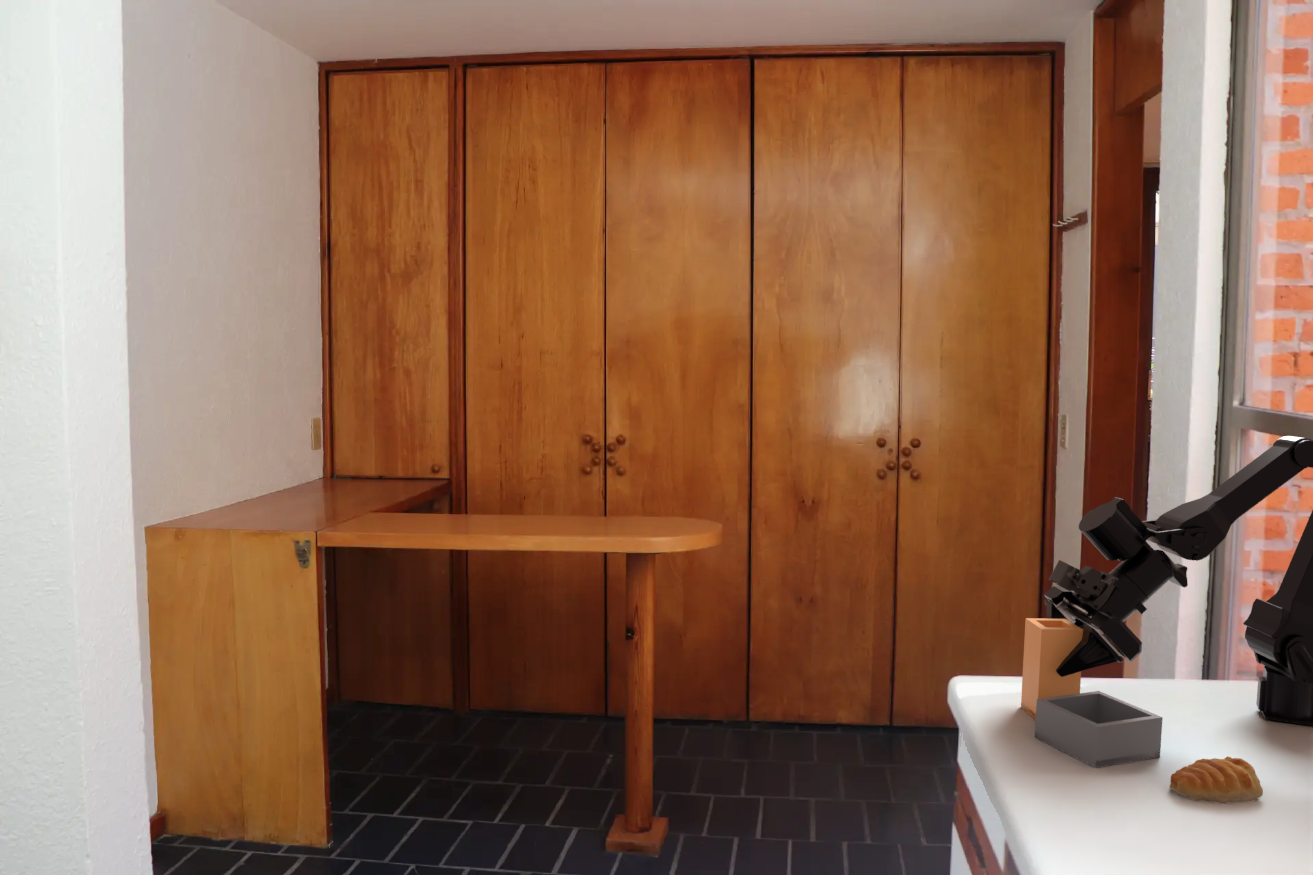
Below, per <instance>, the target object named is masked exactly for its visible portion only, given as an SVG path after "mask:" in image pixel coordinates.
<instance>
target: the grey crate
mask: <svg viewBox="0 0 1313 875" xmlns="http://www.w3.org/2000/svg"><path fill="white" fill-rule="evenodd" d="M1034 726H1035V727H1034V738H1035V739H1037V740H1039V741H1042V742H1043V743H1044V744H1047V745H1049V746H1051V747H1053V748H1055V749H1056V750H1059V751H1061V752H1063V753H1065V754H1067V755H1069V756H1070V757H1073V758H1074V759H1077V760H1079V761H1081V762H1082V763H1084V764H1087V765H1089V766H1091V767H1092V768H1094V769H1097V768H1102V767H1103V768H1104V767H1109V766H1115V765H1120V764H1127V763H1133V762H1134V763H1135V762H1139V761H1144V760H1145V761H1146V760H1149V759H1150V760H1151V759H1156V758H1157V759H1158V758H1160V757H1161V745H1162V731H1163V716H1161V715H1158V714H1156V713H1154V712H1150V711H1148V710H1146V709H1144V708H1142V707H1139V706H1136V705H1133V704H1132V703H1129V702H1126V701H1124V700H1121V699H1119V698H1117V697H1114V696H1113V695H1110V694H1108V693H1106V692H1103V691H1100V690H1095V691H1088V692H1080V693H1079V694H1072V695H1064V696H1057V697H1049V698H1042V699H1037V704H1036V720H1035V725H1034Z"/></svg>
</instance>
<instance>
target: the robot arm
mask: <svg viewBox="0 0 1313 875" xmlns="http://www.w3.org/2000/svg"><path fill="white" fill-rule="evenodd" d="M1307 468H1310V469H1313V440H1312V439H1311V438H1307V437H1300V436H1293V435H1285V436H1282V437H1280V438H1278V439H1277V440H1276V441H1274V443H1273V444H1272V445H1271V447H1269V448H1268V449H1266V450H1265V451H1264V452H1262V453H1261V454H1260V455H1259V456H1257V457H1256V458H1254V459H1253V460H1252V461H1251V462H1249V463H1248V464H1246V465H1245V466H1244V467H1242V468H1241V469H1240V470H1238V471H1237V472H1236V473H1234V474H1233V475H1231V477H1229V478H1228V479H1227V480H1225V481H1223V483H1221V484H1220V485H1218V486H1217V487H1216V488H1215V489H1213V490H1211V491H1210V492H1209V493H1208V494H1206V495H1204V496H1202V497H1200V498H1197V499H1193V500H1191V501H1188V502H1185V503H1182V504H1180V505H1177V506H1176V507H1173V508H1171V509H1170V510H1168V511H1166V512H1164V513H1163V514H1161V515H1160V516H1158V518H1157V519H1150V520H1142V521H1141V519H1140V518H1139V517H1138V516H1137V515H1136V514H1135V513H1134V511H1133V509H1132V508H1131V506H1130V505H1129V503H1128V502H1127V501H1126V500H1125V499H1123V498H1120V497H1116V496H1115V497H1114V498H1112V500H1110V502H1105V503H1102V504H1101V505H1099V506H1096V507H1095V508H1094V509H1090V510H1089V511H1088V512H1087V513H1086V514H1084V515H1083V517H1082V518H1081V519H1080V521H1079V524H1078V530H1079V531H1080V532H1081V533H1082V534H1083V535H1084V536H1085V537H1086V539H1088V541H1089V542H1090V543H1091V544H1092V545H1093V546H1094V548H1096V550H1098V551H1099V552H1100V554H1101V555H1102V556H1103V557H1104V558H1105V559H1106V560H1107V561H1119V563H1118V564H1117V565H1116V566H1115V567H1114V568H1113V569H1111V571H1109V572H1106V571H1104V570H1102V571H1101V570H1097V569H1095V568H1092V567H1091V566H1089V565H1085V566H1084V567H1082V568H1081V569H1079V568H1078V567H1075V566H1073V565H1071V564H1069V563H1067V562H1066V561H1063V560H1061V559H1058V561H1057V564H1056V565H1055V566H1054V568H1053V571H1052V573H1051V574H1050V576H1049V578H1048V580H1049V581H1050V582H1053V583H1054V584H1056V585H1053V586H1051V587H1050V589H1048V591H1047V590H1046V592H1045V593H1044V597H1045V598H1046V599H1045V600H1044V605H1045V606H1046V607H1045V609H1046V617H1045V619H1067V620H1069V621H1070V622H1072V623H1073V624H1075V625H1077V626H1078V627H1080V628H1081V629H1083V636H1082V640H1081V641H1080V642H1079V643H1078V644H1077V646H1076V647H1075V648H1074V649H1073V650H1072V651H1071V652H1070V654H1069V655H1068V656H1067V657H1066V658H1065V659H1064V660H1063V661H1062V663H1061V664H1060V665H1059V667H1058V668H1057V669H1056V672H1057V673H1058V674H1059V675H1060V676H1061V677H1064V676H1067V675H1070V674H1074V673H1077V672H1080V671H1081V672H1084V671H1087V670H1091V669H1094V668H1097V667H1102V666H1105V665H1109V664H1115V663H1123V662H1124V659H1125V660H1126V661H1128V662H1130V663H1131V662H1133V661H1134V660H1135V659H1136V658H1137V657H1138V656H1139V655H1140V654H1142V650H1143V649H1142V648H1143V642H1142V641H1141V639H1140V638H1139V637H1138V636H1137V634H1135V633H1134V632H1133V631H1132V630H1131V629H1130V628H1129V626H1128V625H1127V624H1126V623H1125V621H1126V620H1127V619H1129V618H1130V617H1131V616H1132V615H1134V613H1135V612H1137V613H1139V614H1140V615H1143V614H1144V613H1145V612H1146V611H1147V610H1148V608H1147V607H1146V606H1145V605H1144V604H1145V603H1146V602H1147V601H1148V600H1149V599H1151V597H1152V596H1153V595H1154V594H1156V593H1157V592H1158V591H1159V590H1160V589H1161V588H1162V587H1164V585H1166V584H1167V583H1168V582H1171V583H1173V584H1175V585H1177V586H1180V587H1183V588H1187V587H1188V585H1189V584H1188V577H1187V576H1188V575H1187V573H1188V567H1187V566H1186V565H1183V564H1181V563H1175V562H1174V561H1173V560H1172V559H1171V557H1169V555H1167V553H1169V554H1171V555H1174V556H1177V557H1179V558H1182V559H1185V560H1188V561H1197V562H1198V561H1200V560H1204V559H1205V558H1207V557H1209V555H1211V554H1212V553H1213V552H1214V551H1215V550H1216V548H1217V547H1218V546H1220V544H1222V542H1223V541H1225V539H1226V538H1227V536H1228V533H1229V531H1230V529H1231V527H1232V525H1233V524H1234V523H1235V522H1236V521H1238V519H1239V518H1241V517H1242V516H1243V515H1245V514H1246V513H1248V511H1250V510H1251V509H1253V508H1254V507H1255V506H1257V505H1258V504H1260V503H1261V502H1262V501H1263V500H1265V499H1266V498H1267V497H1269V496H1270V495H1271V494H1272V493H1274V492H1275V491H1277V490H1278V489H1279V488H1281V487H1282V486H1283V485H1284V484H1286V483H1288V482H1289V481H1291V480H1292V479H1293V478H1294V477H1295V476H1296V475H1298V474H1300V473H1301V472H1302V471H1303V470H1305V469H1307ZM1147 541H1148V542H1152V543H1154V544H1156V546H1157V547H1158V548H1159V549H1154V548H1153V547H1151V545H1150V544H1149V543H1148V542H1147ZM1242 624H1243V625H1244V626H1246V628H1245V631H1244V632H1245V633H1244V639H1245V640H1246V642H1247V645H1248V647H1249V648H1250V649H1251V650H1252V651H1253V653H1254V656H1255V660H1256V663H1258V664H1260V665H1263V673H1262V674H1263V675H1260V676H1258V679H1257V689H1256V690H1257V692H1256V707H1257V709H1258V710H1259V711H1260V713H1261V714H1262V717H1263V719H1265V720H1270V721H1277V722H1283V723H1284V722H1285V723H1291V724H1296V725H1297V724H1300V725H1306V726H1312V727H1313V509H1312V510H1311V513H1310V515H1309V517H1308V520H1307V522H1306V524H1305V526H1304V529H1303V531H1302V535H1301V536H1300V538H1299V541H1298V544H1297V546H1296V548H1295V550H1294V553H1293V555H1292V557H1291V561H1290V563H1289V564H1288V566H1287V569H1286V572H1285V573H1284V577H1283V579H1282V581H1281V583H1280V586H1279V588H1278V590H1277V592H1275V593H1274V595H1272V596H1271V597H1270V598H1268V599H1267V600H1263V599H1260V598H1259V597H1258V598H1255V599H1254V601H1253V603H1252V606H1251V610H1250V614H1249V615H1248V617H1247V618H1246V620H1244V621H1243V623H1242ZM1123 658H1124V659H1123Z"/></svg>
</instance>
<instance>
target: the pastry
mask: <svg viewBox="0 0 1313 875" xmlns="http://www.w3.org/2000/svg"><path fill="white" fill-rule="evenodd" d="M1169 789H1170V790H1172V791H1174V792H1176V793H1178V794H1180V795H1182V796H1184V797H1186V798H1188V799H1190V800H1193V801H1196V802H1208V803H1219V804H1227V803H1229V804H1230V803H1231V804H1232V803H1248V802H1254V801H1255V802H1256V801H1258V800H1259V799H1260V798H1261V797H1262V796H1263V794H1264V789H1263V787H1262V785H1261V780H1260V779H1259V777H1258V775H1257V774H1256V770H1255V768H1254V766H1252V764H1250V763H1249V762H1248V761H1246V760H1244V759H1243V758H1240V757H1234V758H1233V757H1231V756H1225V757H1224V758H1221V759H1220V758H1215V757H1214V758H1210V759H1208V758H1201V759H1197V760H1195V761H1194V763H1191V764H1188V765H1187V766H1183V767H1181V768H1179V769H1178V770H1176V771H1175V772H1173V773H1172V774H1171V776H1170V784H1169Z"/></svg>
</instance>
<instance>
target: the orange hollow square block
mask: <svg viewBox="0 0 1313 875" xmlns="http://www.w3.org/2000/svg"><path fill="white" fill-rule="evenodd" d="M1024 625H1025V626H1024V640H1023V641H1024V644H1023V659H1022V660H1023V662H1022V680H1021V697H1020V699H1021V700H1020V702H1021V703H1020V708H1022V709H1023V710H1024V711H1025V712H1026V714H1028V715H1029V716H1031V718H1033V719H1034V720H1035V721H1036V704H1037V699H1042V698H1049V697H1057V696H1064V695H1072V694H1079V693H1081V680H1082V671H1080V672H1077V673H1074V674H1070V675H1067V676H1064V677H1061V676H1060V675H1059V674H1058V673H1057V672H1056V669H1057V668H1058V667H1059V665H1060V664H1061V663H1062V661H1063V660H1064V659H1065V658H1066V657H1067V656H1068V655H1069V654H1070V652H1071V651H1072V650H1073V649H1074V648H1075V647H1076V646H1077V644H1078V643H1079V642H1080V641H1081V640H1082V636H1083V629H1081V628H1080V627H1078V626H1077V625H1075V624H1073V623H1072V622H1070V621H1069V620H1067V619H1046V617H1045V618H1044V617H1043V618H1037V617H1036V618H1031V617H1027V618H1025V624H1024Z"/></svg>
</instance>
